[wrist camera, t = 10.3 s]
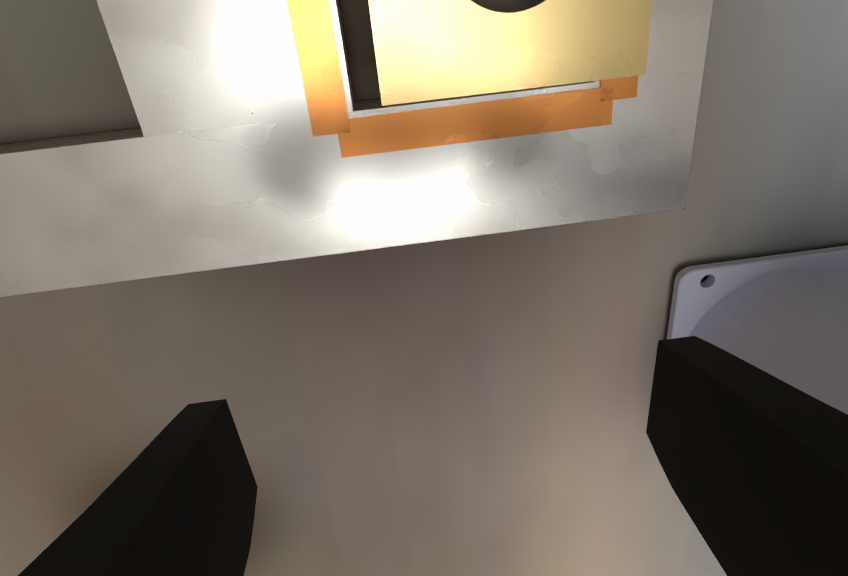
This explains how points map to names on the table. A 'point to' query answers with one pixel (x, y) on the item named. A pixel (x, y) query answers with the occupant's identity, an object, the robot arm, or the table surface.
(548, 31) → the brass nut
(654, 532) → the table surface
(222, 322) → the table surface
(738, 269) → the robot arm
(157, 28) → the panel
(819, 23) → the table surface
